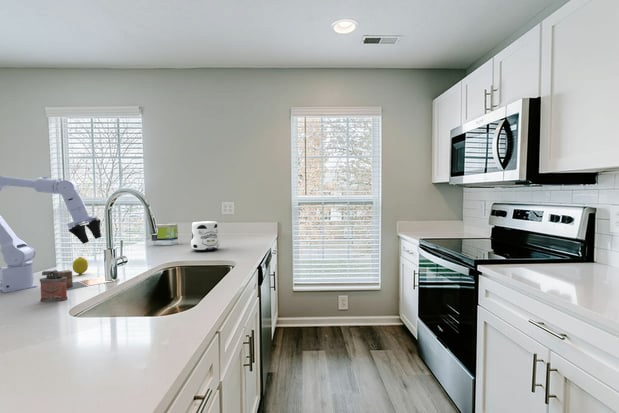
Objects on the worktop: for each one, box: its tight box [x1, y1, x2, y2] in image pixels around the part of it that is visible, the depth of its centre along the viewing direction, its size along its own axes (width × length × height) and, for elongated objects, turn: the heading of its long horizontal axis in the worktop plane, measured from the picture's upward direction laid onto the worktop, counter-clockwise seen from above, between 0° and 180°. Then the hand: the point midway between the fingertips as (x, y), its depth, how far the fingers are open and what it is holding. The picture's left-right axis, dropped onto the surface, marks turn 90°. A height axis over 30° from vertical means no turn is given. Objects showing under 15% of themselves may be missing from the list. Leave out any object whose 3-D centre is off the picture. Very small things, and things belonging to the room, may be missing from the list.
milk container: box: [190, 220, 220, 252], centre depth 206 cm, size 17×17×18 cm
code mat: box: [39, 281, 89, 291], centre depth 123 cm, size 12×12×1 cm
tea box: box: [151, 223, 179, 246], centre depth 235 cm, size 15×10×15 cm, turn 84°
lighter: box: [39, 269, 69, 303], centre depth 107 cm, size 8×3×10 cm, turn 92°
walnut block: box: [61, 269, 73, 288], centre depth 122 cm, size 4×4×6 cm
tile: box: [79, 276, 116, 287], centre depth 131 cm, size 9×11×1 cm
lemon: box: [72, 256, 89, 275], centre depth 143 cm, size 6×6×8 cm
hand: (92, 240), depth 131 cm, fingers open, 7 cm apart
